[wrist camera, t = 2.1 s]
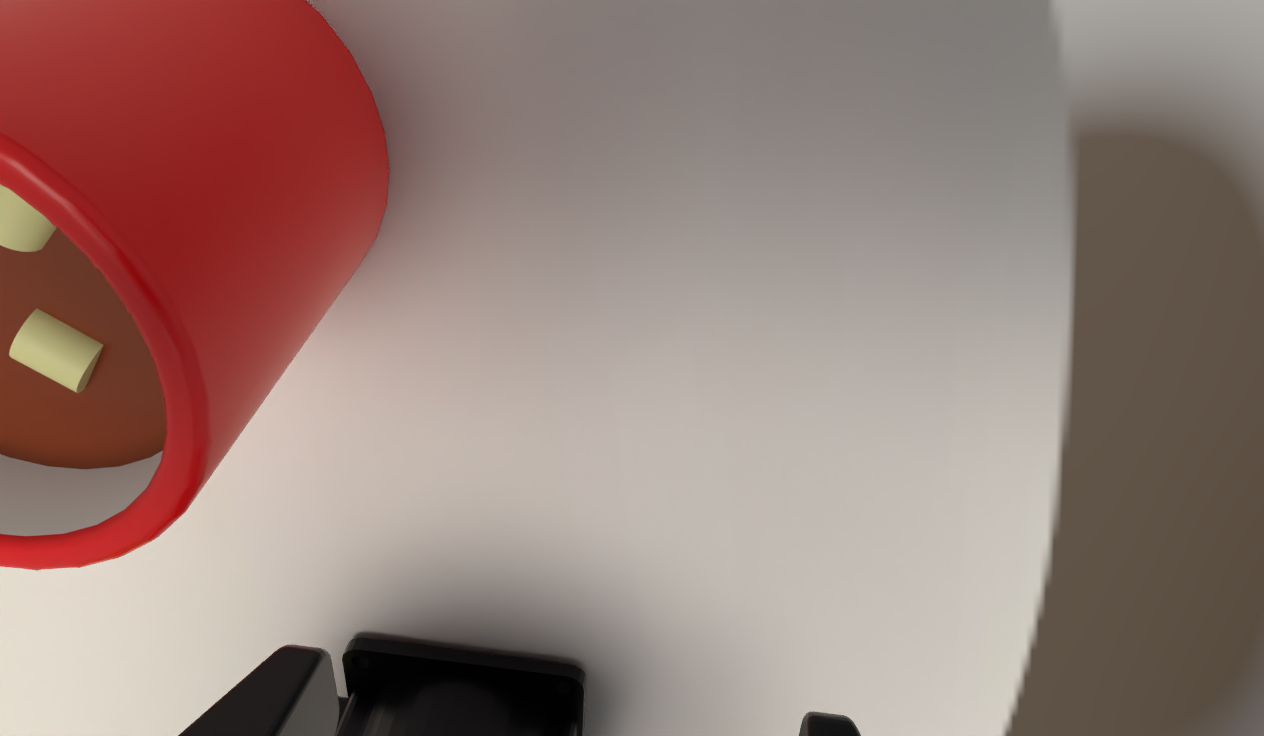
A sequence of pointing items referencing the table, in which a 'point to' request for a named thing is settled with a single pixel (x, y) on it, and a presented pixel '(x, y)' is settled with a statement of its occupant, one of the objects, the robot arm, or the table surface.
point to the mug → (162, 248)
